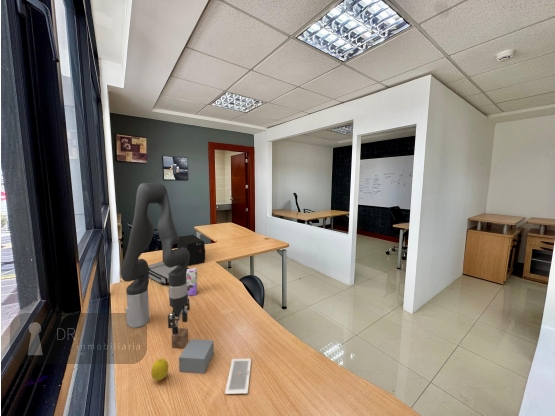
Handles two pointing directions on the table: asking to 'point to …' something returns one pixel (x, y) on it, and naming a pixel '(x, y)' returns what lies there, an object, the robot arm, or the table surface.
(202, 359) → the base block
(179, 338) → the walnut block
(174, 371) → the table surface
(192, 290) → the candy box
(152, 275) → the game console
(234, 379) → the touchpad
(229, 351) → the table surface
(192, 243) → the uninterruptible power supply
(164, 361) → the lemon
